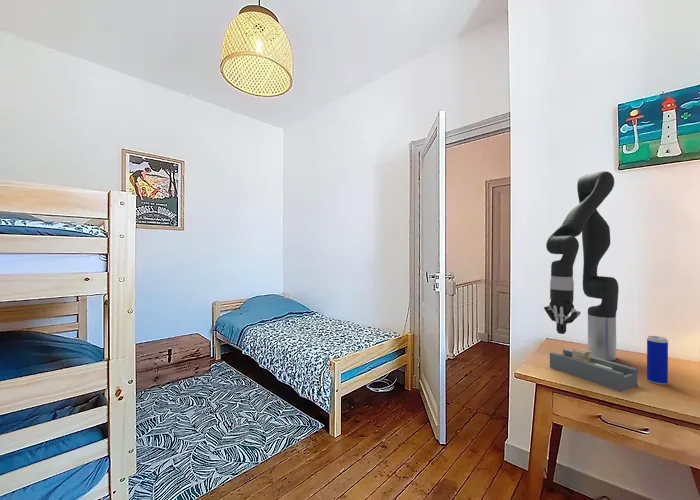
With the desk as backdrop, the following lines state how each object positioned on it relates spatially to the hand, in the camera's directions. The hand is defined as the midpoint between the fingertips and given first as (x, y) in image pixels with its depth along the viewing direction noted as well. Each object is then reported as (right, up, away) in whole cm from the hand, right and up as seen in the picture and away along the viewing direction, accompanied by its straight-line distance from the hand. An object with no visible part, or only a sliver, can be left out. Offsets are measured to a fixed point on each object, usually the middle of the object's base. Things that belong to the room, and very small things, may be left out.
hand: (561, 333), depth 125 cm
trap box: (+5, -13, -9) cm, 16 cm away
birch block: (+3, -9, -6) cm, 11 cm away
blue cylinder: (+23, -13, -15) cm, 30 cm away
